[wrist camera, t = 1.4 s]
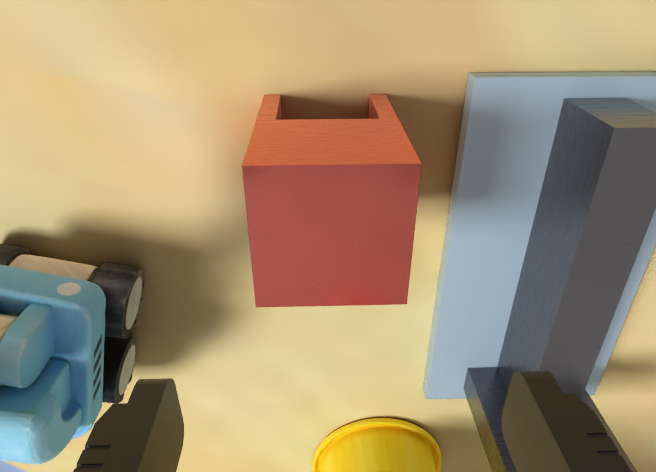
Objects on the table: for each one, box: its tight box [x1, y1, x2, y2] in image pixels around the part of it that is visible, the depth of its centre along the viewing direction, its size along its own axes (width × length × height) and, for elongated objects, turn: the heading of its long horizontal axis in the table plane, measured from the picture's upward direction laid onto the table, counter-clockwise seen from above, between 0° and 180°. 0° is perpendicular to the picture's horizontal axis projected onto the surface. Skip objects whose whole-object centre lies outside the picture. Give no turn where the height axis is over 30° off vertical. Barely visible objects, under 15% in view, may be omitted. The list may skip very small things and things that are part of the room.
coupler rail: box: [463, 98, 656, 472], centre depth 25 cm, size 20×7×8 cm, turn 0°
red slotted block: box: [242, 94, 422, 307], centre depth 22 cm, size 6×6×9 cm
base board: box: [423, 72, 656, 399], centre depth 29 cm, size 22×12×1 cm, turn 0°
